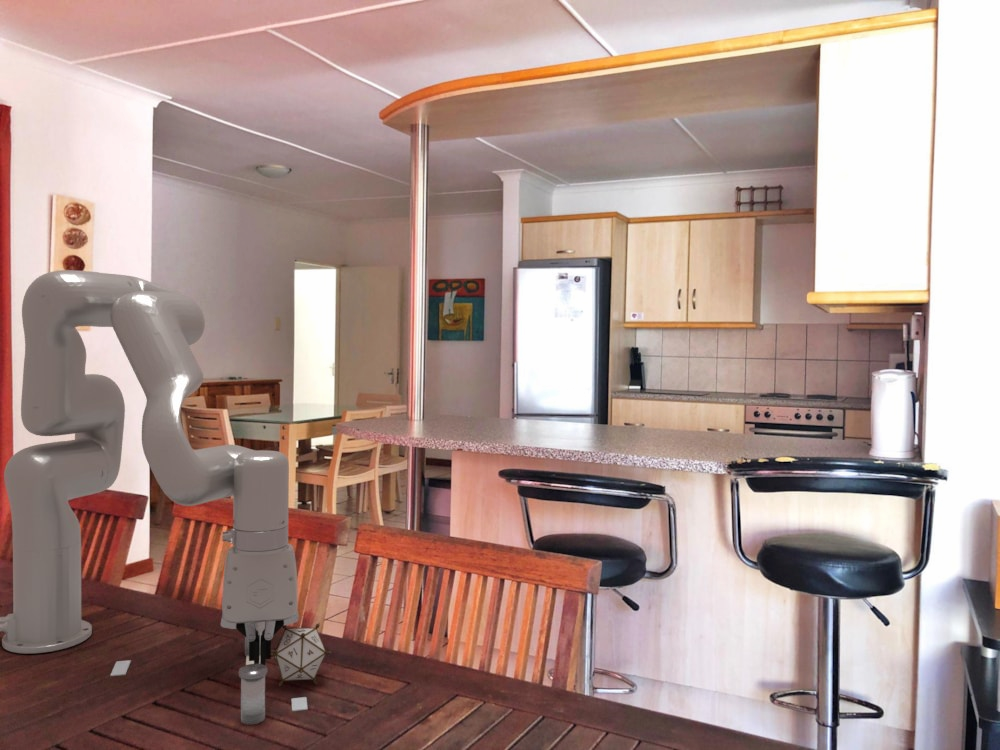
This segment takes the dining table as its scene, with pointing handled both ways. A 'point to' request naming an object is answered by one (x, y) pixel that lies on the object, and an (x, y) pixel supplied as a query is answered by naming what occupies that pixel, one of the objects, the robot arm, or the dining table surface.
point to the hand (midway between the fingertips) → (259, 664)
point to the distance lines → (297, 703)
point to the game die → (299, 654)
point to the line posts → (253, 686)
